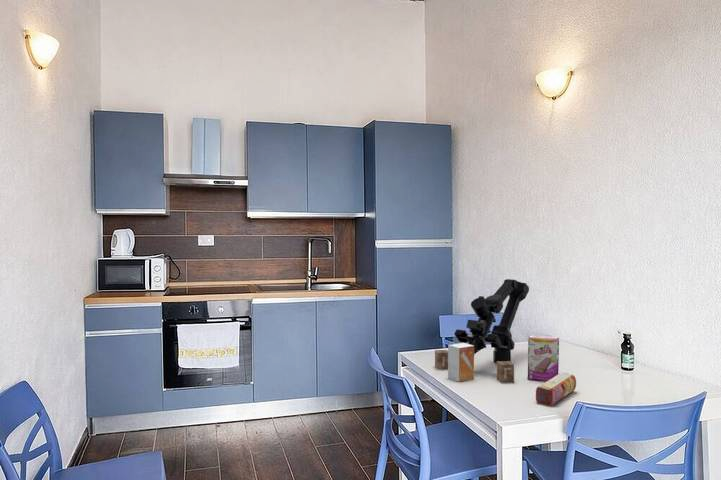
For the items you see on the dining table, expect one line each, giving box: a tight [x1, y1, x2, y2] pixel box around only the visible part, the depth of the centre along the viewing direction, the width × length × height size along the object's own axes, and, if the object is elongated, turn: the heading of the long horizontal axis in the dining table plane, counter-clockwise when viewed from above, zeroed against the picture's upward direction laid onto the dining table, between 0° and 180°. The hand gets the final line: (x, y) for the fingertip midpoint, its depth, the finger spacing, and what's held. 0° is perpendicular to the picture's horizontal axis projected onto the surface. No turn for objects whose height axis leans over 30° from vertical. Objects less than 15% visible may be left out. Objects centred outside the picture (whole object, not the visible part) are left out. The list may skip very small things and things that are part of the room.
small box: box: [447, 342, 475, 383], centre depth 204 cm, size 8×6×13 cm
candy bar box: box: [527, 334, 560, 382], centre depth 203 cm, size 11×5×16 cm, turn 71°
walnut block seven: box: [496, 361, 515, 384], centre depth 201 cm, size 5×5×7 cm
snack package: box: [535, 372, 577, 407], centre depth 181 cm, size 21×7×7 cm, turn 138°
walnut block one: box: [434, 349, 448, 371], centre depth 220 cm, size 5×5×7 cm
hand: (469, 355), depth 209 cm, fingers closed
